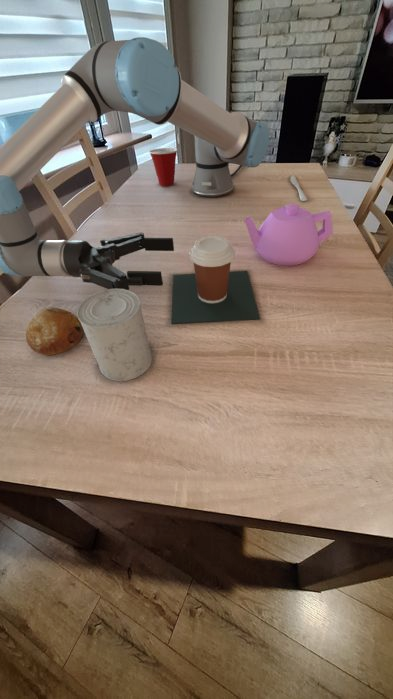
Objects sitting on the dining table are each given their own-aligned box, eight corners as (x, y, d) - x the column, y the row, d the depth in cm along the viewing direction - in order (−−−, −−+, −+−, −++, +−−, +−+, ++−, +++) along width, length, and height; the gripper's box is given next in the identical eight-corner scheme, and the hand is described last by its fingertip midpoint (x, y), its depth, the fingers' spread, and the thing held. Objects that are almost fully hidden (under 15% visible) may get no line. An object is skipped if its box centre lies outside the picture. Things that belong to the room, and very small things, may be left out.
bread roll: (56, 335, 66) (25, 310, 60) (92, 315, 63) (63, 288, 58) (43, 369, 59) (7, 345, 54) (84, 349, 56) (50, 321, 51)
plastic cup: (182, 179, 124) (179, 144, 116) (178, 188, 117) (175, 152, 108) (156, 179, 125) (151, 145, 117) (150, 188, 118) (145, 153, 109)
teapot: (317, 237, 84) (329, 190, 75) (336, 266, 73) (352, 216, 65) (238, 241, 84) (241, 195, 76) (245, 271, 74) (249, 221, 65)
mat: (173, 275, 74) (173, 274, 73) (247, 271, 73) (247, 270, 73) (171, 324, 61) (171, 323, 61) (260, 319, 61) (260, 318, 61)
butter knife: (299, 200, 101) (308, 199, 101) (288, 175, 120) (296, 175, 120) (298, 202, 102) (308, 201, 101) (288, 177, 121) (296, 176, 120)
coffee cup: (186, 288, 69) (181, 238, 60) (222, 279, 71) (223, 229, 62) (201, 311, 63) (199, 259, 54) (240, 300, 65) (244, 248, 56)
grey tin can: (160, 347, 57) (150, 293, 48) (137, 386, 50) (121, 332, 42) (116, 337, 59) (98, 284, 50) (88, 374, 53) (63, 320, 44)
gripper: (95, 247, 76) (178, 247, 74) (52, 309, 59) (158, 312, 56) (86, 217, 70) (175, 216, 68) (35, 275, 53) (152, 278, 51)
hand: (168, 260), depth 62 cm, fingers open, 13 cm apart
